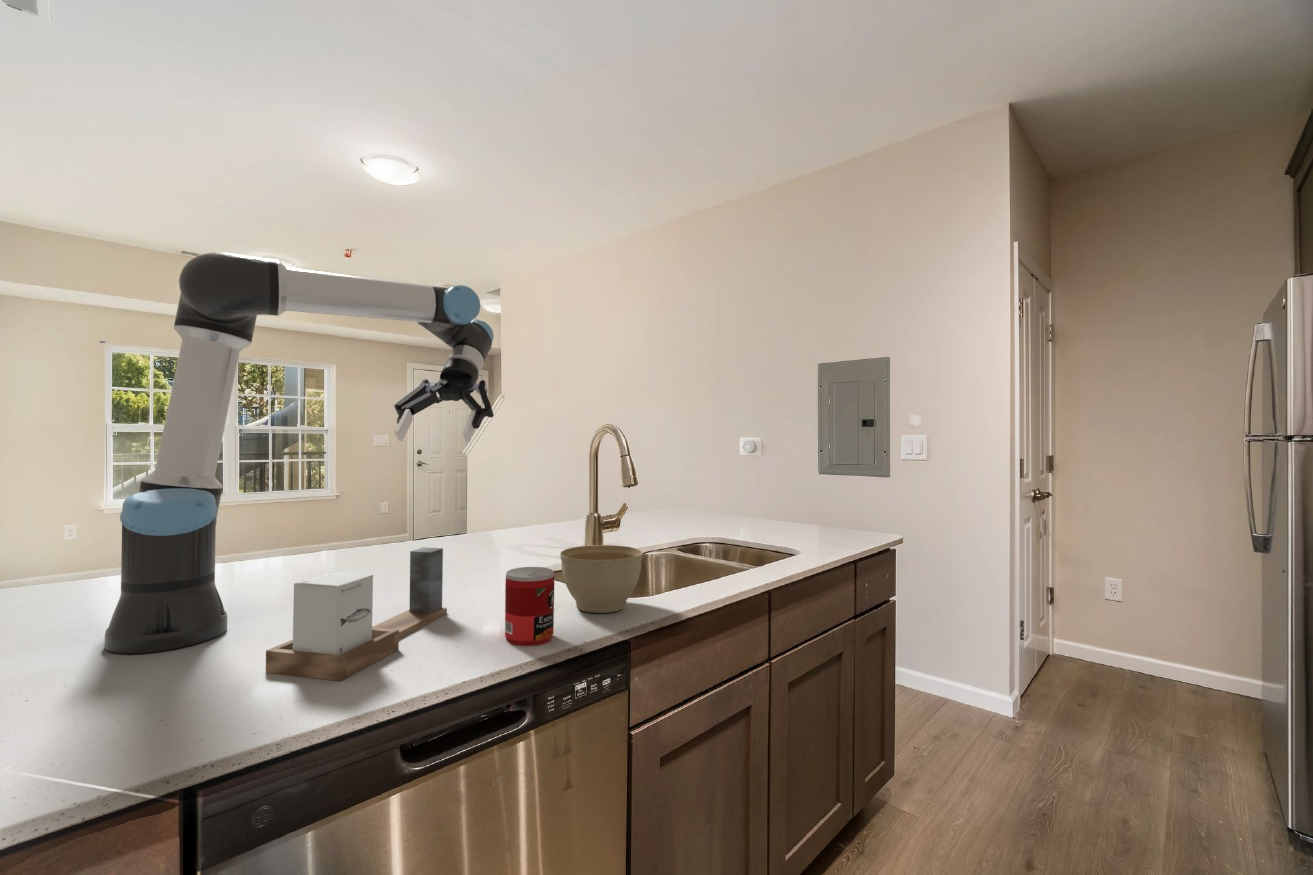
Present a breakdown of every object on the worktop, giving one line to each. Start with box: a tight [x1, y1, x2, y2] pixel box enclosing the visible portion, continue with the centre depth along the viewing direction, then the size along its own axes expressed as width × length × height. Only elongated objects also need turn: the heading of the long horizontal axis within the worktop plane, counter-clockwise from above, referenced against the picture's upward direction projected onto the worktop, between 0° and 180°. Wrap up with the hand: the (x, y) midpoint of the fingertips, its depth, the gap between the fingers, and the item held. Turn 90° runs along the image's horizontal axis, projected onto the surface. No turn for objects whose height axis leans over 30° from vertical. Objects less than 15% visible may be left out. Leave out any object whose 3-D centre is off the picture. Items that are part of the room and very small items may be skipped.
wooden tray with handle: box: [265, 547, 448, 682], centre depth 94 cm, size 12×30×12 cm, turn 168°
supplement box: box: [292, 571, 374, 655], centre depth 83 cm, size 7×7×13 cm
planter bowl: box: [559, 544, 644, 614], centre depth 114 cm, size 16×16×11 cm
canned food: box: [504, 566, 555, 647], centre depth 96 cm, size 8×8×11 cm
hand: (432, 437), depth 115 cm, fingers open, 13 cm apart
